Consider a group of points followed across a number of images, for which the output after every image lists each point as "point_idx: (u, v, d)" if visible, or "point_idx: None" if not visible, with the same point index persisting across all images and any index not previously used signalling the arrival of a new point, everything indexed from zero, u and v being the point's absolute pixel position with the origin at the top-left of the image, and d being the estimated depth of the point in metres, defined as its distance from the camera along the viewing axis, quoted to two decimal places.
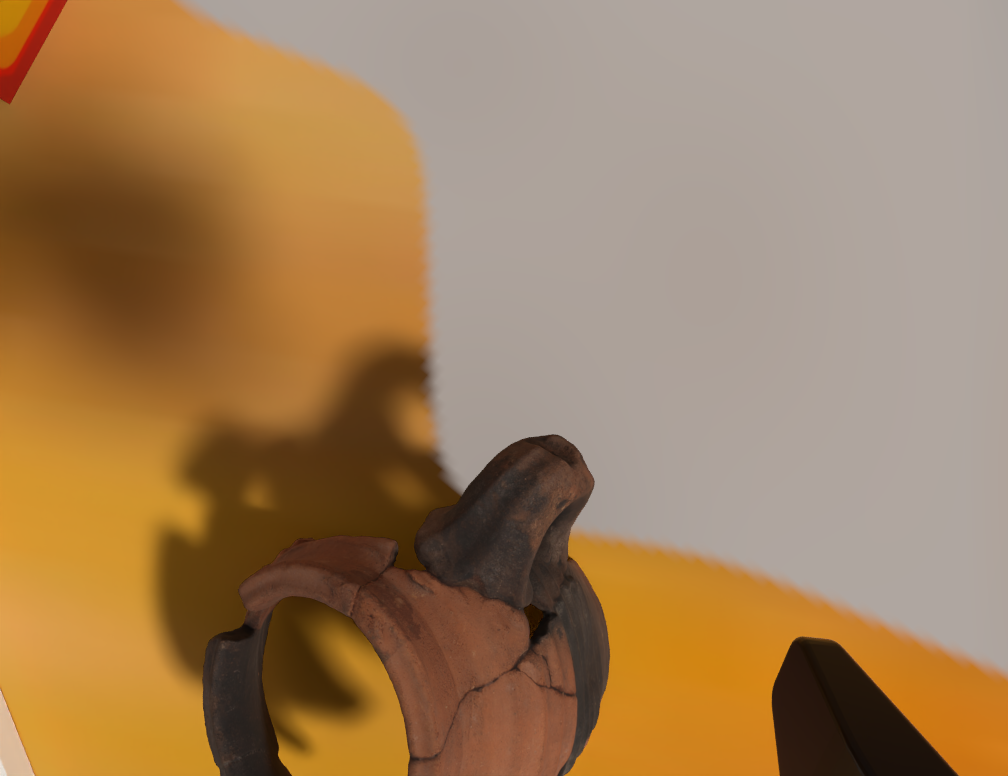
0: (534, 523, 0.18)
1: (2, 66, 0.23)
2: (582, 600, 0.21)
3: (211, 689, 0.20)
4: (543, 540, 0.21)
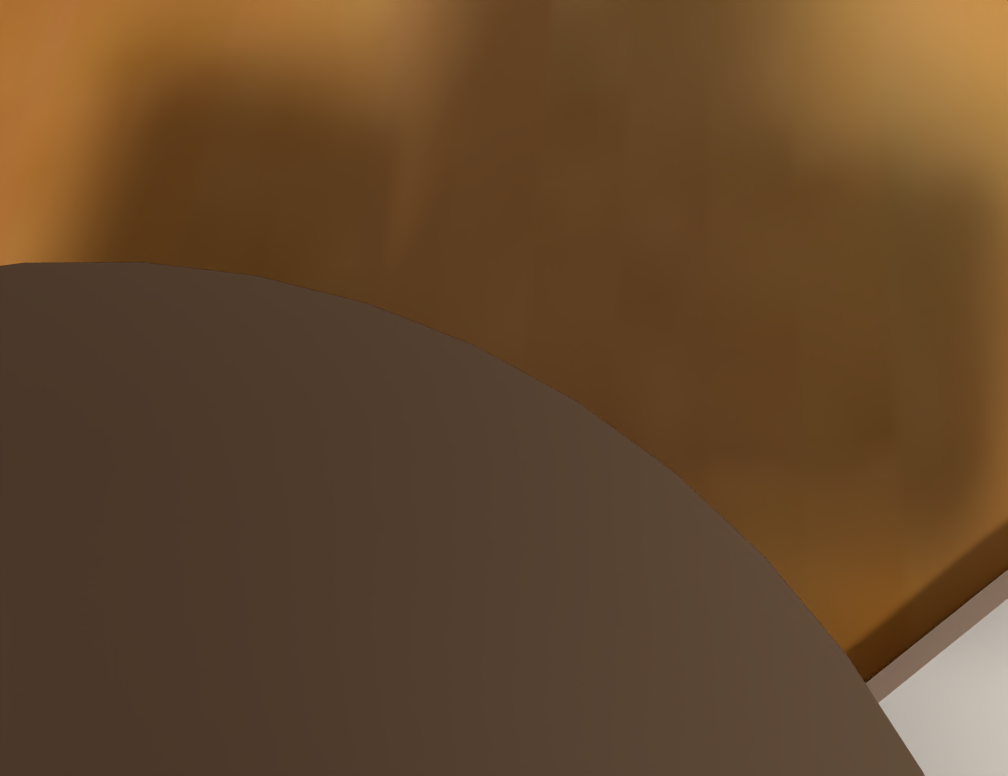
0: None
1: None
2: None
3: None
4: None
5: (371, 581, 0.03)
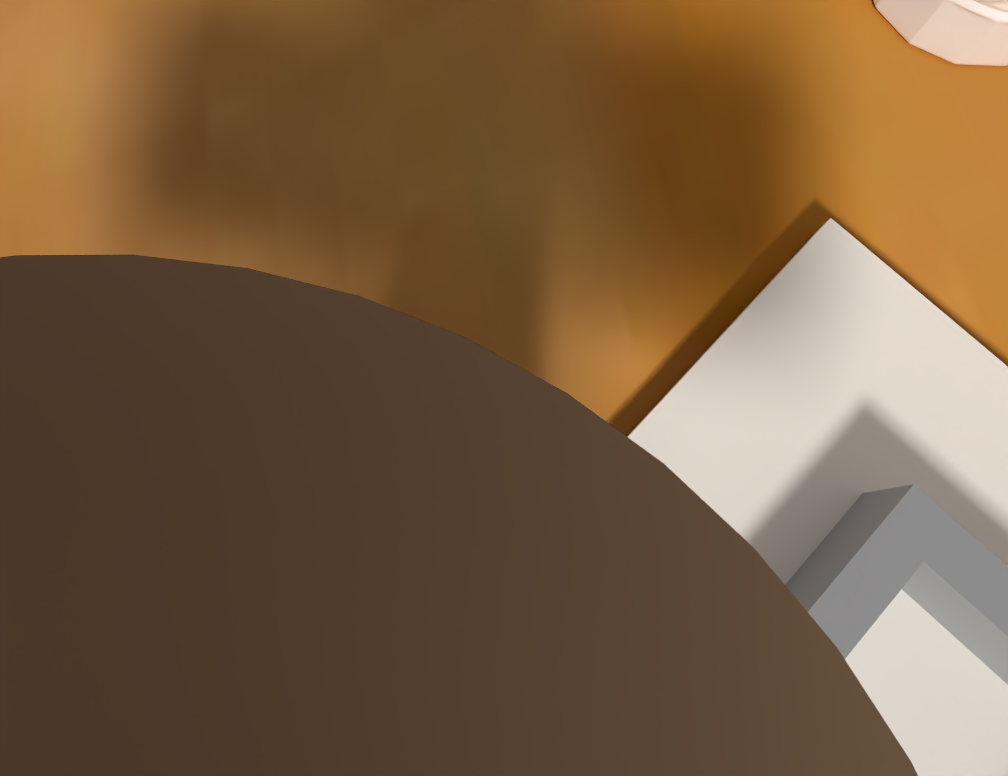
0: None
1: None
2: None
3: None
4: None
5: (362, 570, 0.03)
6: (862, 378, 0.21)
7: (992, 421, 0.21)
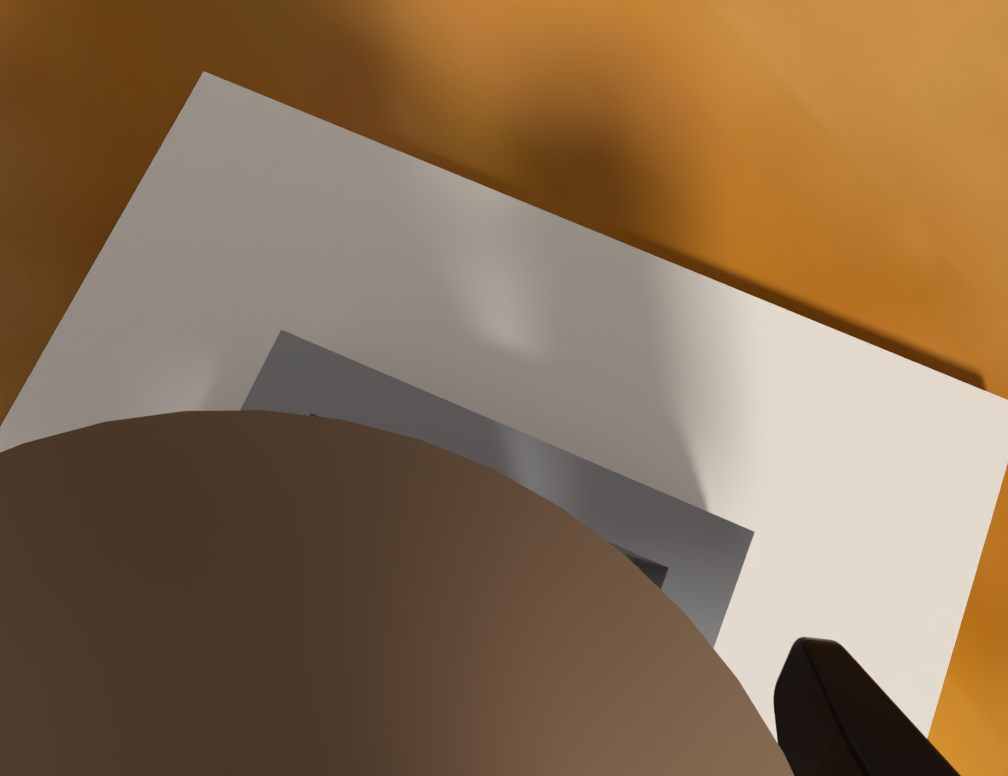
0: None
1: None
2: None
3: None
4: None
5: (424, 628, 0.04)
6: (280, 235, 0.18)
7: (437, 233, 0.18)
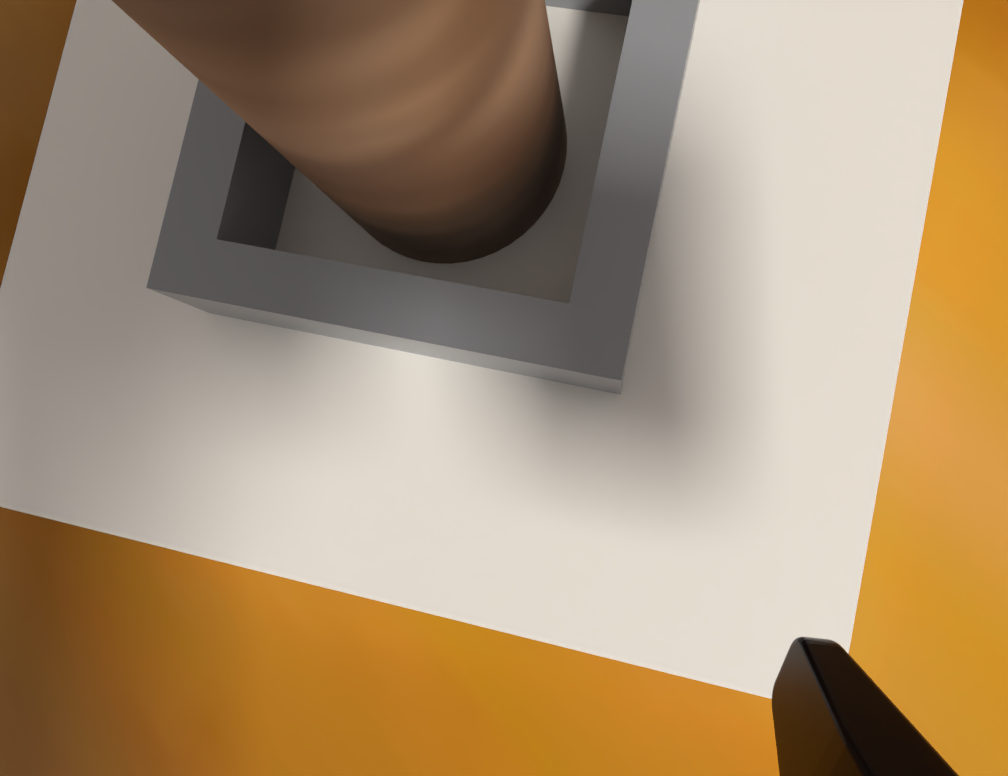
0: None
1: None
2: None
3: None
4: None
5: None
6: None
7: None
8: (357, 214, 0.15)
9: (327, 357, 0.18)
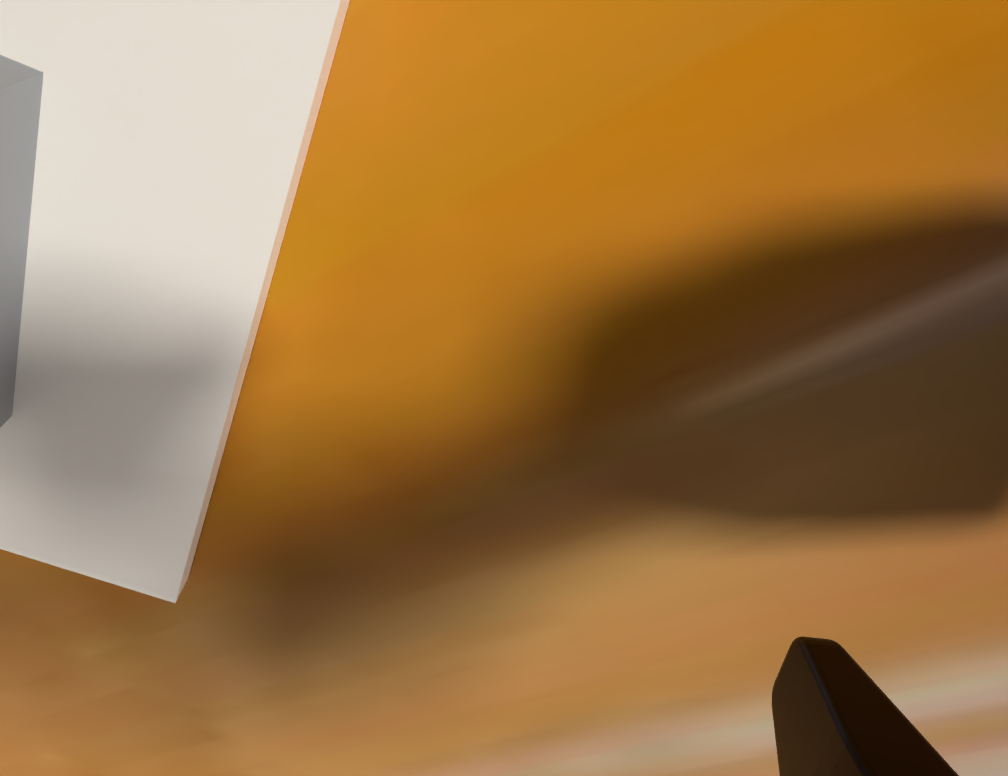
0: None
1: None
2: None
3: None
4: None
5: None
6: None
7: None
8: None
9: (39, 331, 0.20)
